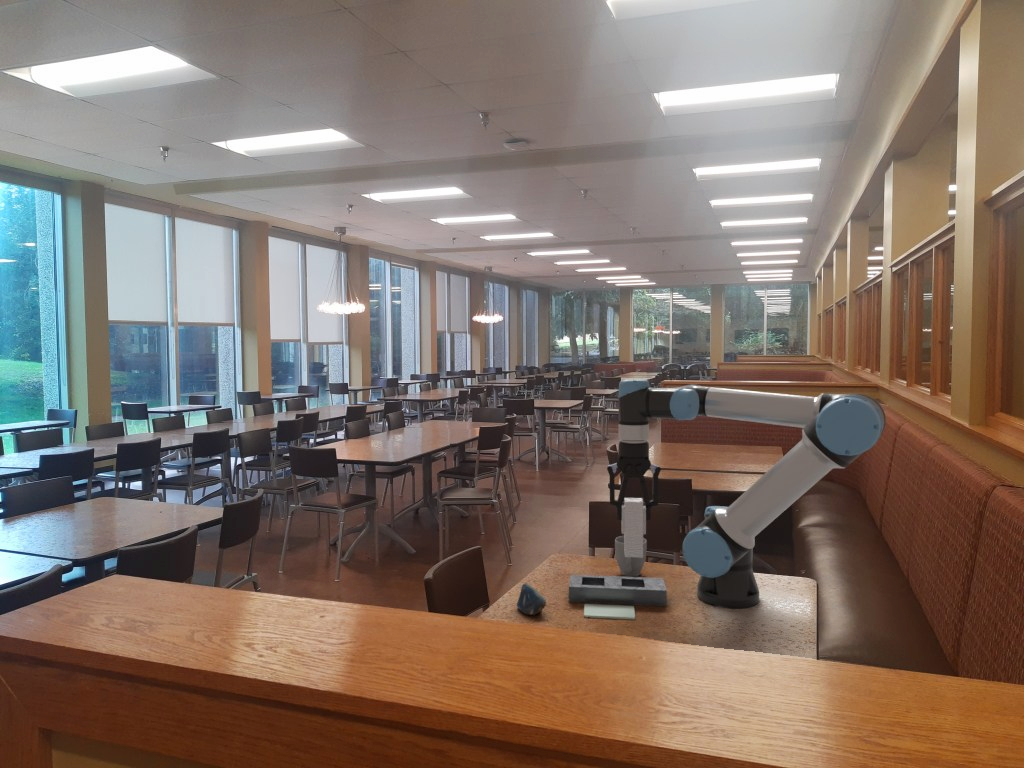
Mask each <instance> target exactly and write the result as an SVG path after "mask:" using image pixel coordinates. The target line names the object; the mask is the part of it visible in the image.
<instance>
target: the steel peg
mask: <svg viewBox="0 0 1024 768" xmlns="http://www.w3.org/2000/svg"><path fill="white" fill-rule="evenodd" d="M623 502H624V504H623V506H625V534H623V536H624V553H625V557H639V558H643V538H644V534H643V506H644V498H643V497H624V499H623Z"/></svg>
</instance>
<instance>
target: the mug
mask: <svg viewBox="0 0 1024 768" xmlns="http://www.w3.org/2000/svg"><path fill="white" fill-rule="evenodd" d="M647 546H648V542H647V539H646V538H644V537H643V558H639V557H625V553H624V535H620V536H617V537H615V539H614V551H615V558H616V563H617V565H618V567H619V570H620V574H621V575H623V576H624V577H639V576H640V575H641V572H642V570H643V568H644V565H645V562H646V558H647V548H648V547H647Z"/></svg>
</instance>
